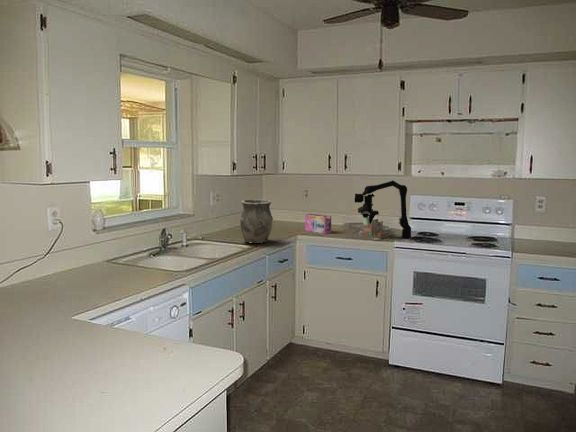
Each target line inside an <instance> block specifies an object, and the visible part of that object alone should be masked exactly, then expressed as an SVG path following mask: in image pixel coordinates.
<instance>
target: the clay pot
mask: <svg viewBox="0 0 576 432" xmlns="http://www.w3.org/2000/svg"><path fill="white" fill-rule="evenodd" d="M241 204H242V205H243V206H242V211H241V215H240V220H239V221H240V229H241V233H242V238H243V239H244V242H245V241H246V242H245V243H247V242H252V243H261V244H263V243H262V242H265V243H267V242H268V239H269V237H270V235H271V232H272V229H273V220H274V218H273V215H272V212H271V209H270V206H271V204H272V201H271V200H269V199H260V198H256V199H255V198H253V199H252V198H250V199H246V200H245V199H243V200H242V201H241ZM252 243H251V244H252Z"/></svg>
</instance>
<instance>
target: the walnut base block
mask: <svg viewBox="0 0 576 432" xmlns="http://www.w3.org/2000/svg"><path fill="white" fill-rule="evenodd" d="M389 236H390V235H389V233H388V232H384V231H378V232H374V235H373V238H380V239H390V238H389Z"/></svg>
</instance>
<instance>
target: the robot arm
mask: <svg viewBox="0 0 576 432" xmlns="http://www.w3.org/2000/svg"><path fill="white" fill-rule="evenodd" d="M389 187H394V188H396V189H398V192H399V196H400V217H399V218H398V220H399V221H398V224H399V225H400V227H401V228H402V231H401V236H400V238H401V239H405V238H406V239H413V237H412V227H411V226H410V225H409V220H408V215H407V193H408V187H407V186H406V185H404V184H400V183H398V182H397V181H395V180H390V181H386V182H383V183H379V184H375V185H374V184H373V185H372V184H371V185H366V186H365V187H364V191H362V193H354V204H355V203H356V204H357V203H363V202H364V203H363V204H362V205H361V206H360V207H358V208H357V213H358V214H360V215H361V216H362V217H363V218H367V217H369V223H370V224H371V222H372V220H373V218H376V217H375V216H378V215H380V214H379V213H380V212H379V211H378V210H374V209H373V206H374V203H373V197H374V198H375V197H376V196H375V194H373V193H375V192H377V191H380V190H383V189H386V188H389Z"/></svg>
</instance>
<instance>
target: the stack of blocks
mask: <svg viewBox="0 0 576 432" xmlns="http://www.w3.org/2000/svg"><path fill="white" fill-rule="evenodd" d="M383 223H384V222H383V220H379V217H374V218H373V225H364V234H363V235H364V236H370V237H371V236H374V232H378V231H382V229H383V228H384V224H383Z"/></svg>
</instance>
